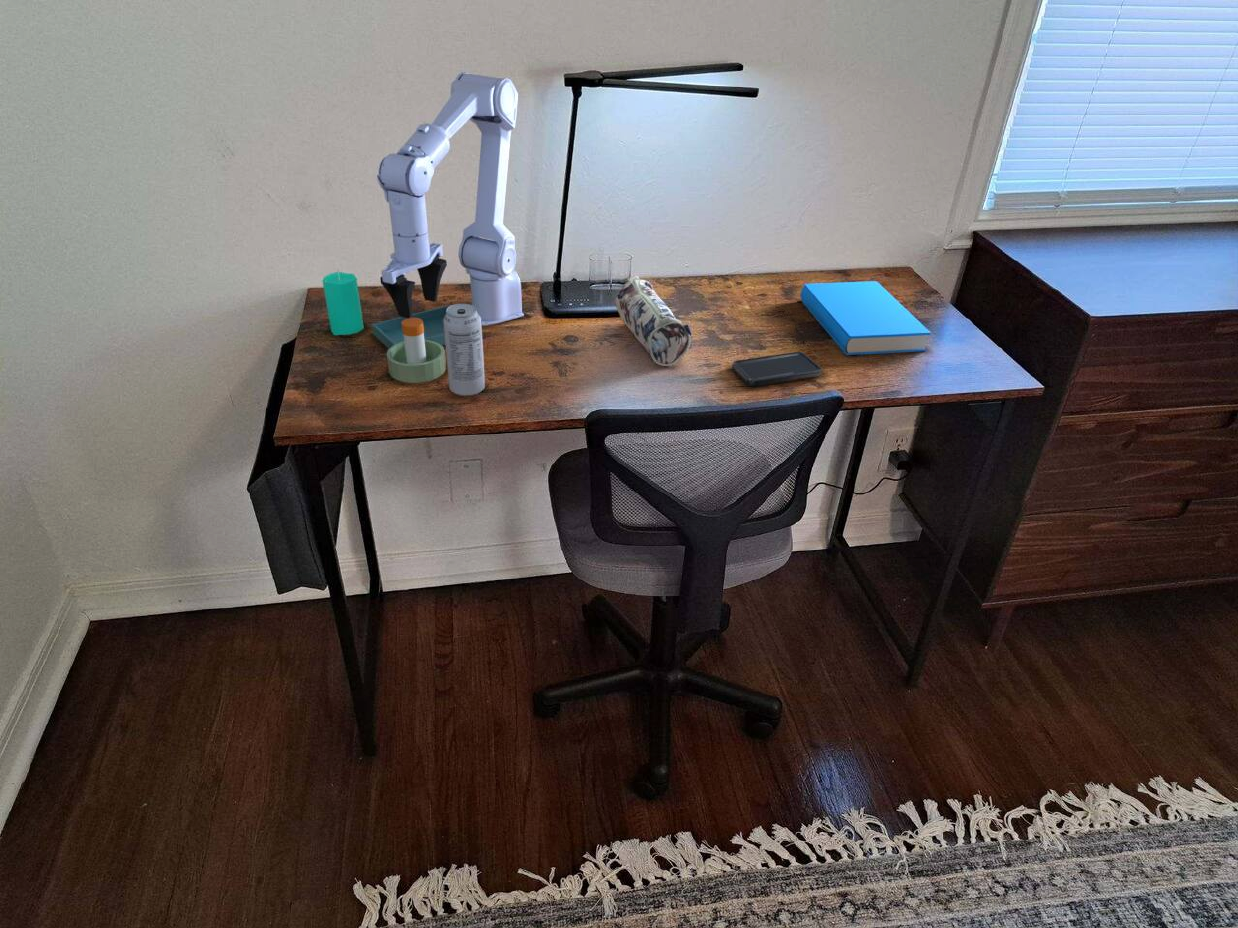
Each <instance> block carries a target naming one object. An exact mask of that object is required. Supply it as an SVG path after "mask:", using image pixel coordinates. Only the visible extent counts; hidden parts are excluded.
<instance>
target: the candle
mask: <svg viewBox="0 0 1238 928" xmlns="http://www.w3.org/2000/svg"><path fill="white" fill-rule="evenodd" d="M322 286H323V291H324V297H325V298H324V299H325V303H326V310H327V315H328V320H329V321H328V322H329V326H330V331H331V333H332V335H334V336H339V335H340V336H341V335H345V336H346V335H353V334H357V333H359V332H360V331H362V330H364V329H365V326H364V320H363V312H362V306H361V299H360V293H359V285H358V278H357V276H356V275H355V274H354V273H348V272H347V273H346V272H342V271H339V269H337V271H336V272H335V271H334V272H333V273H328V274H327V275H325V276H324V277H323V278H322Z"/></svg>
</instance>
